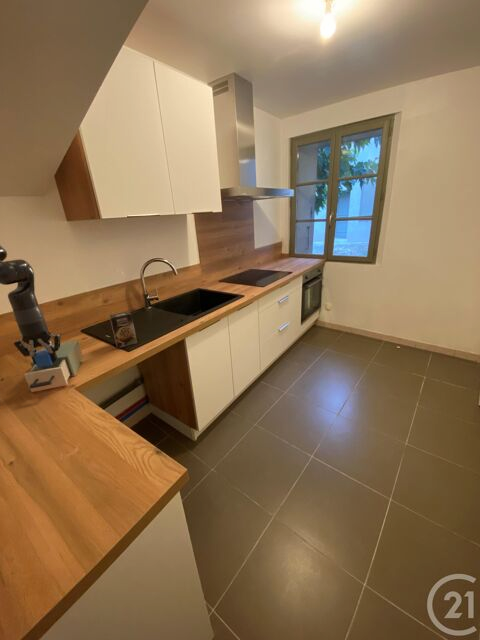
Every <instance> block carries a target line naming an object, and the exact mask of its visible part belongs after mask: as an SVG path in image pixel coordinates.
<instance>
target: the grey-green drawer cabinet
mask: <svg viewBox="0 0 480 640" xmlns="http://www.w3.org/2000/svg"><path fill="white" fill-rule="evenodd" d="M52 346H53V347H54V344H52ZM43 350H47V349H45V348H44V347H42V348H41V350H40V351H43ZM55 352H56V355H57V360H59V359H65V358H67V361H68V364H69V367H70V370H71V374H70V376H69V378H72V377H76V375H77V373H78V371H79V369H80V367H81V365H82V363H83V361H82V360H83V358H84V355H83V353H82V350H81V346H80V343H79V340H74V341H67V342H62V343H61V342H60V348H59V349H58V351H55ZM29 363H30V366H31V369H32V368H33V367H34V365H35V364H34V362H33V360H32V359H31V361H30V362H29Z"/></svg>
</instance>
